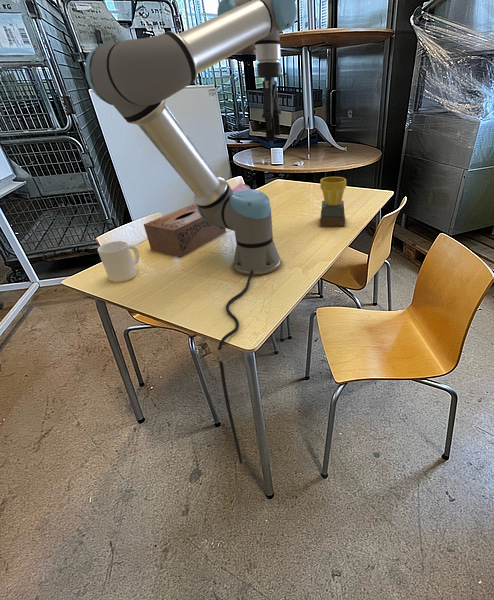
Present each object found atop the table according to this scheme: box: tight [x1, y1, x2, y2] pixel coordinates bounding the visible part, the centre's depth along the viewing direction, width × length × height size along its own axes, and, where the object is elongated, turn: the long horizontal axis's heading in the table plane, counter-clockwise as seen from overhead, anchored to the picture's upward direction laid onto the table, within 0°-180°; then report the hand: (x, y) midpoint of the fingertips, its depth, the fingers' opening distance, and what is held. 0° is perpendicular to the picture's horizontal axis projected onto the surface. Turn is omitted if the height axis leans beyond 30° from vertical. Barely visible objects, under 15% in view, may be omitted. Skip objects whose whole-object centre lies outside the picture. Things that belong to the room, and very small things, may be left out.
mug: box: [97, 240, 140, 283], centre depth 105 cm, size 12×8×10 cm
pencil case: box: [231, 182, 252, 191], centre depth 162 cm, size 21×9×9 cm, turn 162°
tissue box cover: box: [143, 203, 227, 258], centre depth 127 cm, size 26×14×10 cm, turn 154°
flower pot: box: [319, 176, 347, 206], centre depth 136 cm, size 10×10×10 cm
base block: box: [319, 209, 346, 228], centre depth 141 cm, size 10×10×4 cm
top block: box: [321, 200, 345, 217], centre depth 139 cm, size 9×9×4 cm
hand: (273, 137), depth 115 cm, fingers open, 13 cm apart
